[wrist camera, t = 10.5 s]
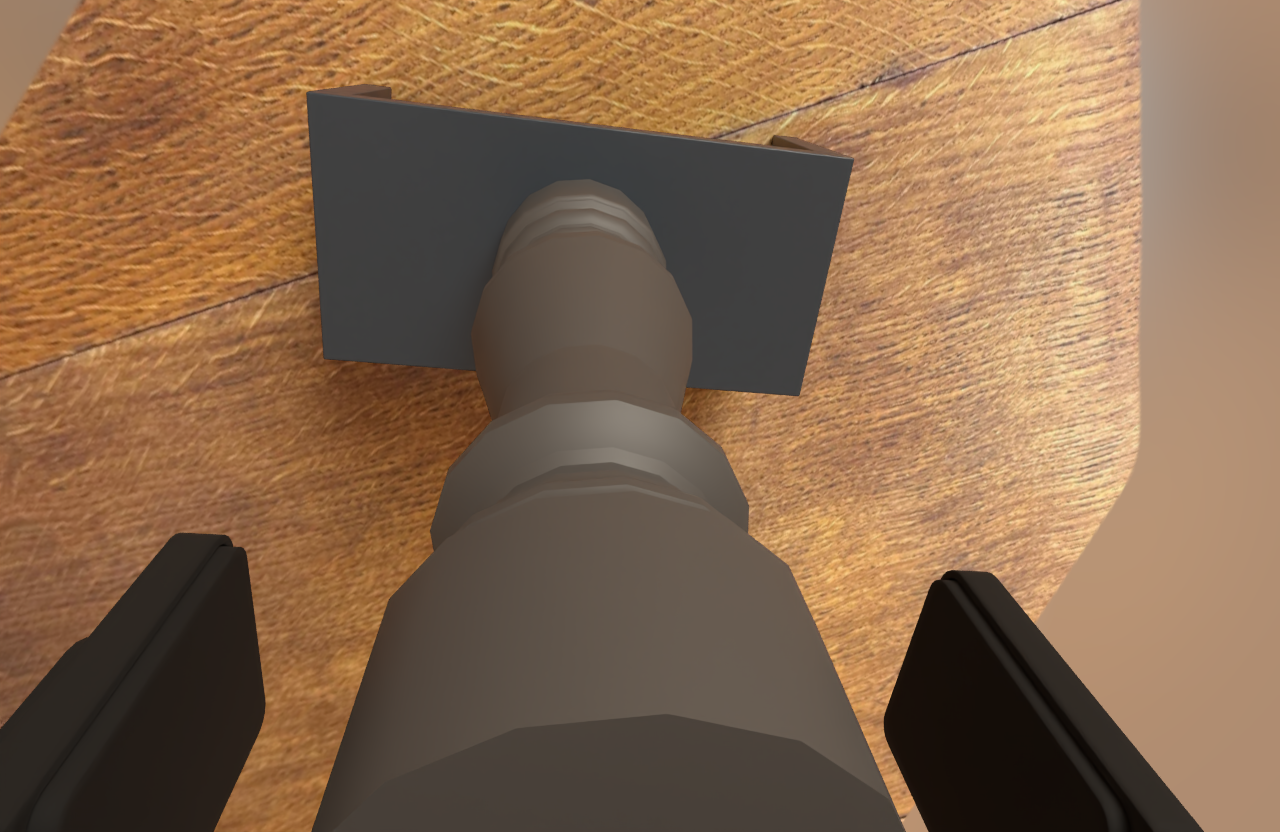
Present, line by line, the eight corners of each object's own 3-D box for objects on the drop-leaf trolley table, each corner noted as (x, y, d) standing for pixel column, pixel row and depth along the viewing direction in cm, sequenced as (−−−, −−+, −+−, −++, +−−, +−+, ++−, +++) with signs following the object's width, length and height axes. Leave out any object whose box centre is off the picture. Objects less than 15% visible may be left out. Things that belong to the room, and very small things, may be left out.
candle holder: (506, 166, 27) (217, 661, 5) (670, 191, 28) (1060, 708, 6) (493, 325, 30) (265, 1126, 8) (645, 343, 31) (845, 1108, 8)
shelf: (371, 301, 37) (322, 359, 30) (363, 83, 33) (305, 91, 26) (758, 335, 40) (799, 396, 33) (797, 137, 35) (855, 158, 28)
